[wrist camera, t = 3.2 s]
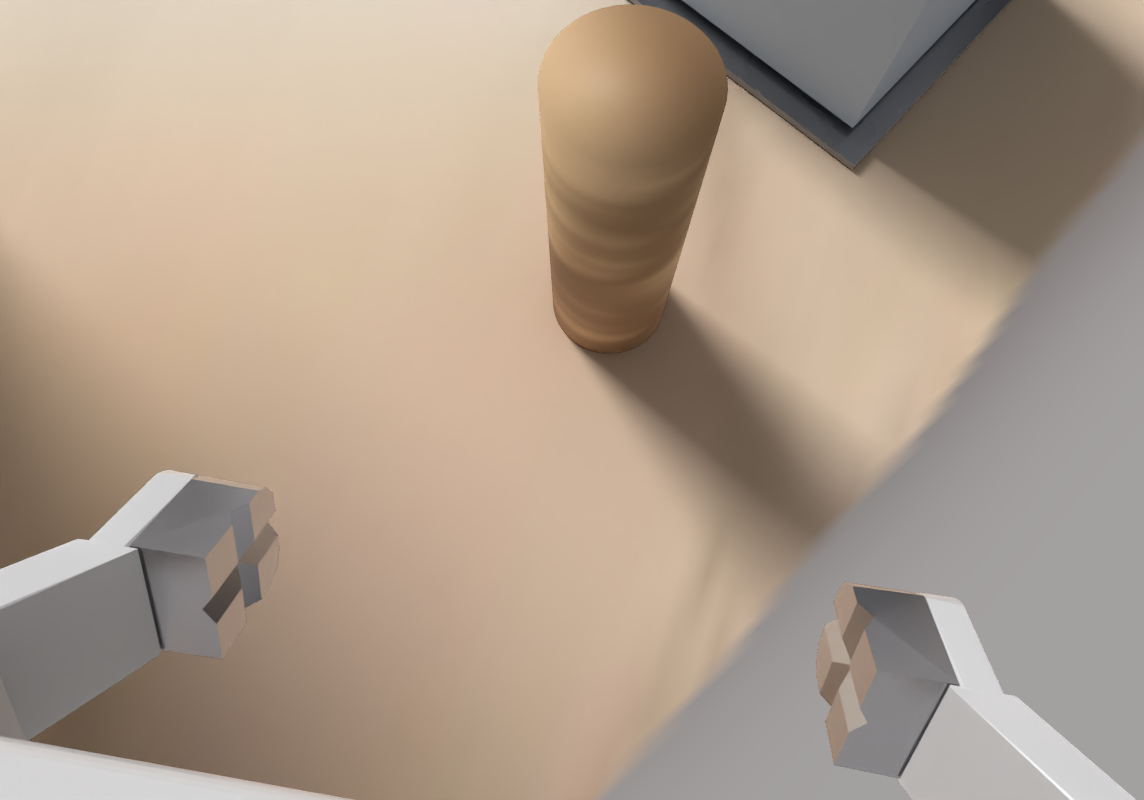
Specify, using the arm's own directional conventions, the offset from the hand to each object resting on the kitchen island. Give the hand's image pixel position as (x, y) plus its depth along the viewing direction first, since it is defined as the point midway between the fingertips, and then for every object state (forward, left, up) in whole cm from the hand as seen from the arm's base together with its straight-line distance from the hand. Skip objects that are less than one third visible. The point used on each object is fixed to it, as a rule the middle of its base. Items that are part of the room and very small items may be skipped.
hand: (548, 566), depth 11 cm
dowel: (+5, +9, -15) cm, 18 cm away
